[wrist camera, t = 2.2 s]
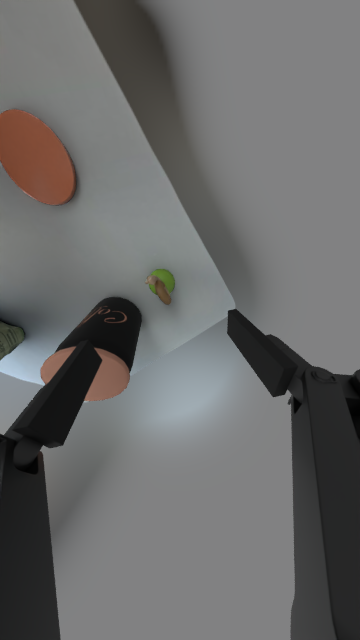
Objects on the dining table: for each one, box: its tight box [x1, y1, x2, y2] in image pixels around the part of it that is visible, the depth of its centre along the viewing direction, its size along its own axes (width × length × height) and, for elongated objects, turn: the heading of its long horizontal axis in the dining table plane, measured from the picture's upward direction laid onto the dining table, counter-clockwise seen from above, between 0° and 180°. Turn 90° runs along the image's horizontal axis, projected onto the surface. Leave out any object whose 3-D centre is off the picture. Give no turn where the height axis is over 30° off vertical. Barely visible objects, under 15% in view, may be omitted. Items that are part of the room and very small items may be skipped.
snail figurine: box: [145, 269, 175, 305], centre depth 25 cm, size 5×6×12 cm
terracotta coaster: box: [0, 109, 76, 205], centre depth 19 cm, size 9×9×1 cm
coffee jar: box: [41, 297, 142, 401], centre depth 26 cm, size 11×11×18 cm
